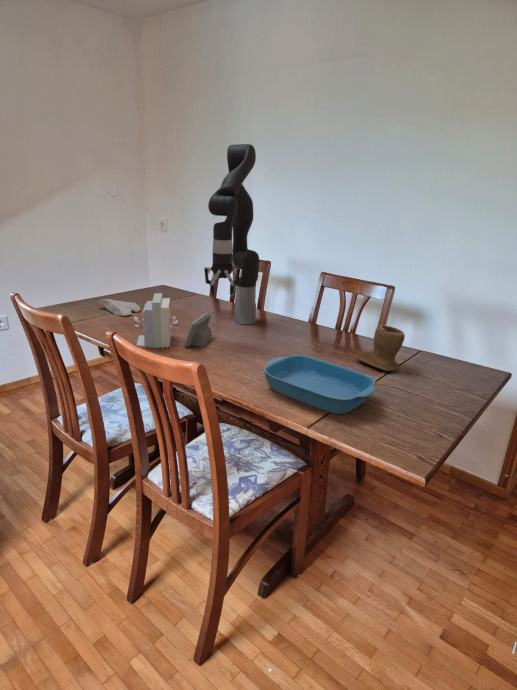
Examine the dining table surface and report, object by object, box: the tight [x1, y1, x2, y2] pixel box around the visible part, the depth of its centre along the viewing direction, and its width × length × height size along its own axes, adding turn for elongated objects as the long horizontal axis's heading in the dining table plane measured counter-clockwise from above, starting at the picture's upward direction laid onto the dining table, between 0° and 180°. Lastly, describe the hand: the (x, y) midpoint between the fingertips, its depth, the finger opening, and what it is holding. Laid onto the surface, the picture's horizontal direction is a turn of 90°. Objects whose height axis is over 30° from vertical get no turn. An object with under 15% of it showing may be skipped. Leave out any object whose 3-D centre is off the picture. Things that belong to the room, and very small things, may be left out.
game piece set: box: [133, 316, 179, 331], centre depth 200 cm, size 19×20×4 cm
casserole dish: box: [263, 354, 377, 415], centre depth 141 cm, size 37×22×7 cm, turn 50°
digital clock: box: [183, 312, 212, 348], centre depth 179 cm, size 16×9×11 cm, turn 152°
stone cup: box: [354, 324, 406, 372], centre depth 163 cm, size 15×12×15 cm
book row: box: [135, 292, 172, 349], centre depth 176 cm, size 13×14×18 cm
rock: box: [97, 298, 141, 317], centre depth 216 cm, size 21×5×15 cm
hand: (221, 294), depth 175 cm, fingers open, 6 cm apart
